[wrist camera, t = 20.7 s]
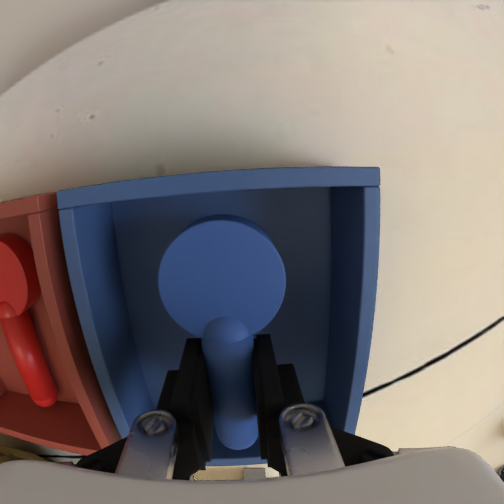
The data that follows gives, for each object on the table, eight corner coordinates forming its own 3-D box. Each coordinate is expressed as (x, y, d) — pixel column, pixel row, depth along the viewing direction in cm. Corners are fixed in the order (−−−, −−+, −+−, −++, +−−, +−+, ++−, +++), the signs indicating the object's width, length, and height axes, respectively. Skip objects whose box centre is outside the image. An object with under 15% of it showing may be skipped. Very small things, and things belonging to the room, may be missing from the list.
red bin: (-45, 214, 12) (-90, 227, 8) (86, 187, 12) (37, 194, 8) (8, 391, 15) (-19, 425, 11) (135, 410, 15) (117, 460, 11)
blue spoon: (282, 426, 13) (287, 453, 11) (195, 430, 13) (192, 458, 11) (278, 210, 11) (286, 217, 9) (159, 218, 10) (145, 227, 9)
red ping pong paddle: (81, 398, 14) (70, 418, 13) (31, 391, 14) (18, 407, 13) (33, 228, 12) (11, 236, 10) (-17, 236, 12) (-38, 244, 10)
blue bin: (102, 184, 12) (55, 191, 8) (339, 167, 13) (380, 167, 9) (148, 411, 15) (132, 462, 11) (330, 400, 16) (351, 451, 12)
